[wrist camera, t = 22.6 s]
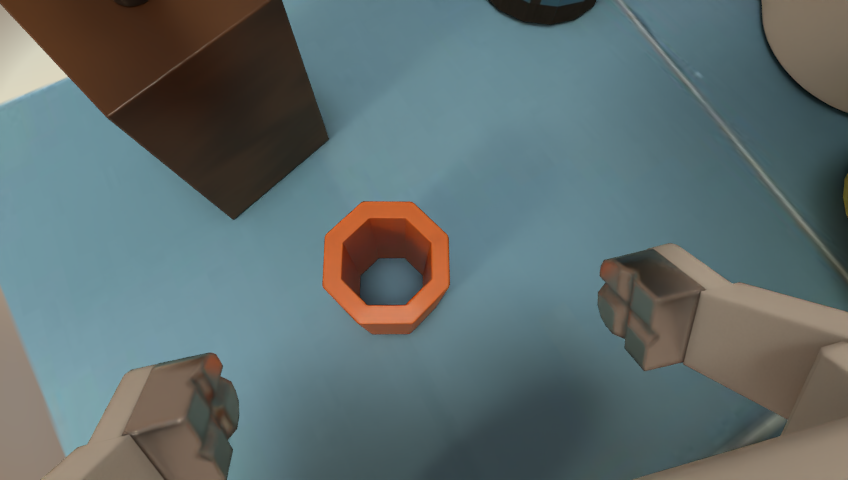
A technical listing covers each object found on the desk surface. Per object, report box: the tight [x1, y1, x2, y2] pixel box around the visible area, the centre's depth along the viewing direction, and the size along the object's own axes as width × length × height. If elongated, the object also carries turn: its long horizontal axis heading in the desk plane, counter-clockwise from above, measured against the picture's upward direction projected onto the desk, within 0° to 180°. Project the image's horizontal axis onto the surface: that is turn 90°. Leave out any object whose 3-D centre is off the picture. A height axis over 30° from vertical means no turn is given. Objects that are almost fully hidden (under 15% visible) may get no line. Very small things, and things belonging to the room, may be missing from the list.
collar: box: [322, 201, 450, 334], centre depth 23 cm, size 5×5×8 cm
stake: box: [0, 0, 329, 219], centre depth 18 cm, size 8×8×21 cm
